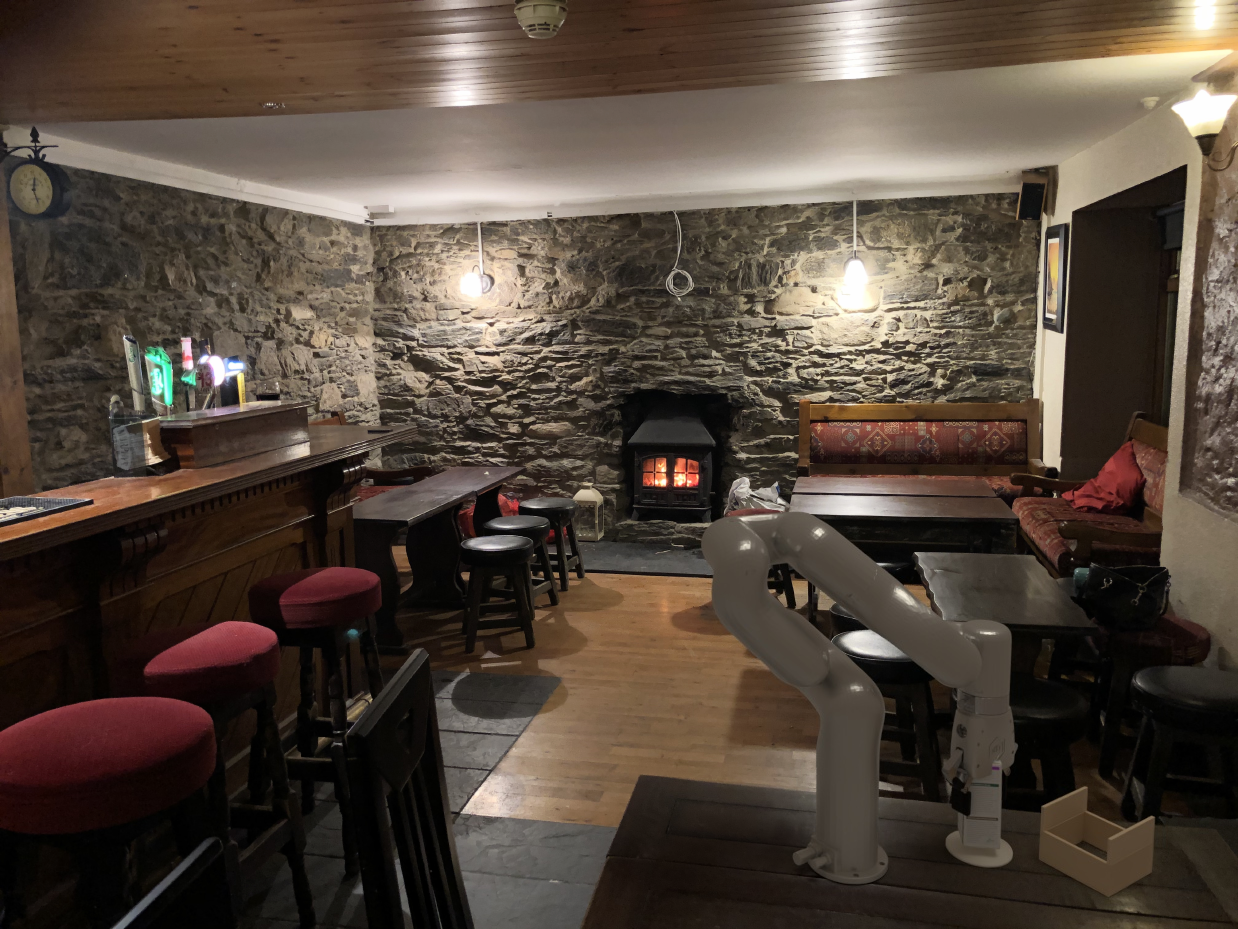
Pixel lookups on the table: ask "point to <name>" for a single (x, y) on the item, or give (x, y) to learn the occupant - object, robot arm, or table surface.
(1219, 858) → the table surface
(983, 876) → the table surface
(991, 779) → the syrup box
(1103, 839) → the wooden frame
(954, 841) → the beer mat
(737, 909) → the table surface
